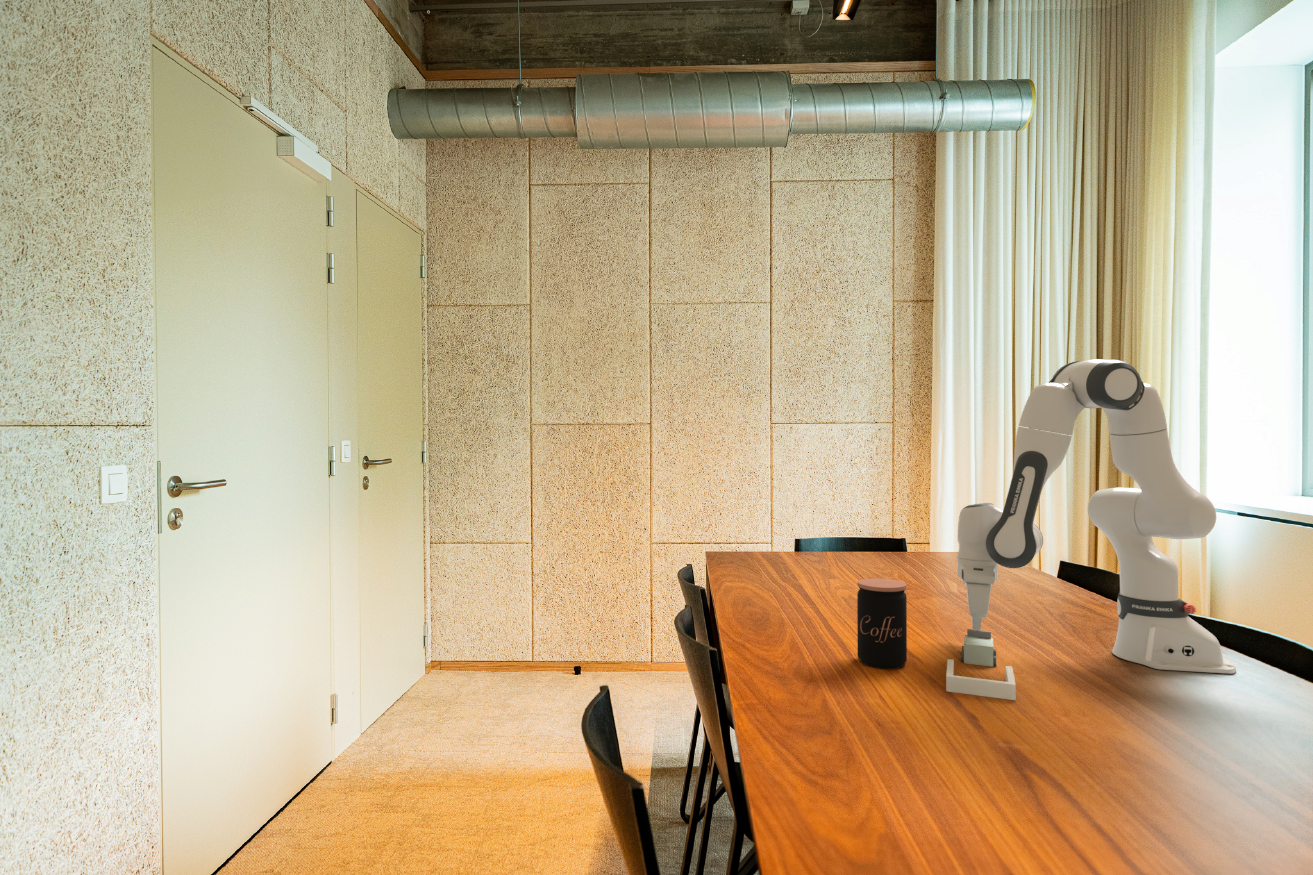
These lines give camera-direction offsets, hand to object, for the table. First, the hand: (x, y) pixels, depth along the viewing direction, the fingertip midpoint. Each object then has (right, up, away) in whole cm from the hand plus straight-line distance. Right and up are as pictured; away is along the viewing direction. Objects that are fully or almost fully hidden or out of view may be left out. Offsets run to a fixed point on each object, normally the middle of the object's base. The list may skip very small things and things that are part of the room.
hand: (976, 628), depth 169 cm
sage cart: (-3, -5, -8) cm, 10 cm away
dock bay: (-10, -5, -25) cm, 27 cm away
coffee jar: (-26, -5, -10) cm, 28 cm away
